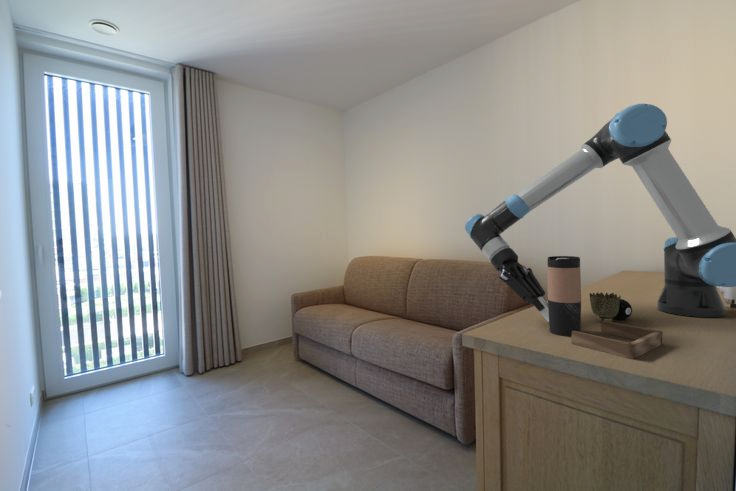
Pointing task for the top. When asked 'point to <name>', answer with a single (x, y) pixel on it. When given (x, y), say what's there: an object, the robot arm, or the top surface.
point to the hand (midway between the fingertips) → (553, 319)
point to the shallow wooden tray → (641, 345)
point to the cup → (605, 305)
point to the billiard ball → (623, 310)
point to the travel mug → (564, 294)
